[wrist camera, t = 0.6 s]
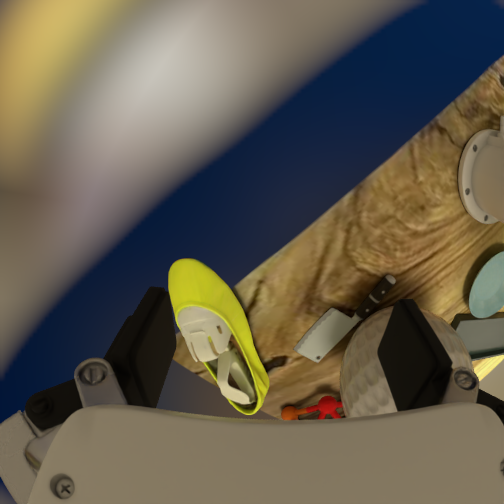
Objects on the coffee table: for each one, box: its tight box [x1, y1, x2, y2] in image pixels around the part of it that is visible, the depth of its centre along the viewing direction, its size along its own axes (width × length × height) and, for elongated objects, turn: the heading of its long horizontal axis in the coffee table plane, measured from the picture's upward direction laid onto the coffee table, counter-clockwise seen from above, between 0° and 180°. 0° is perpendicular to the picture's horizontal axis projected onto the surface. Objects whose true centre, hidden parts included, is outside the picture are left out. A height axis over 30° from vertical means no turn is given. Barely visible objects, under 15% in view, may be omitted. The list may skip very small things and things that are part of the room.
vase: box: [340, 306, 474, 418], centre depth 27 cm, size 16×16×22 cm
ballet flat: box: [168, 258, 269, 415], centre depth 34 cm, size 8×24×8 cm, turn 21°
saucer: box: [469, 251, 504, 318], centre depth 32 cm, size 12×12×2 cm
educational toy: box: [281, 396, 343, 420], centre depth 41 cm, size 16×13×15 cm
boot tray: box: [451, 312, 504, 361], centre depth 37 cm, size 24×10×2 cm, turn 86°
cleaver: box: [293, 275, 396, 363], centre depth 36 cm, size 17×1×5 cm
